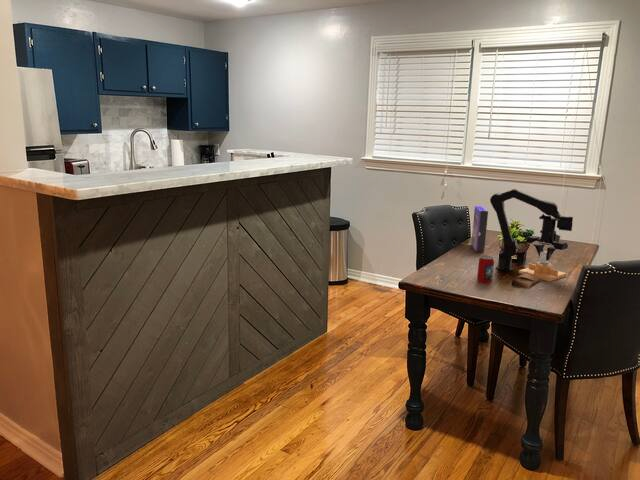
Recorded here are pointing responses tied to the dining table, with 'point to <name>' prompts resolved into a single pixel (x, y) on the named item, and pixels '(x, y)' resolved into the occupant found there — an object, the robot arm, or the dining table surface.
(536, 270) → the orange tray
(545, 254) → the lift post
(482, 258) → the beverage can
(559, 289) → the dining table surface
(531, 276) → the sunglasses case
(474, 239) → the cereal box
